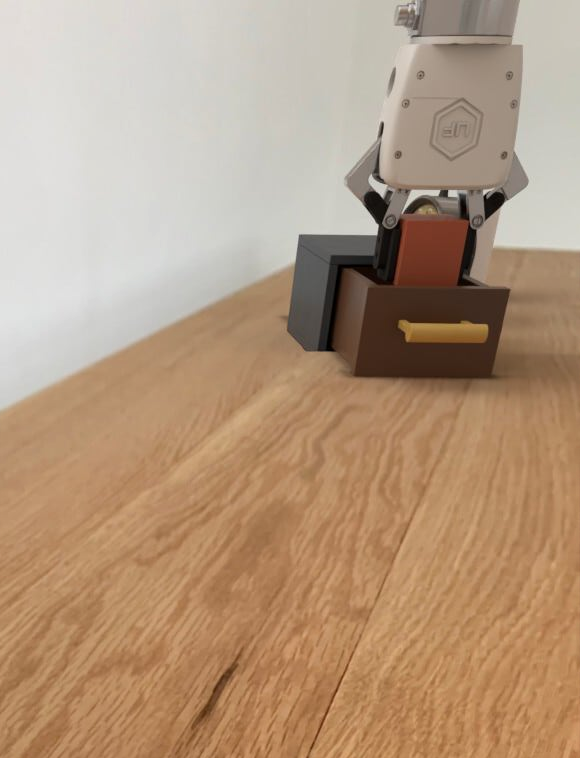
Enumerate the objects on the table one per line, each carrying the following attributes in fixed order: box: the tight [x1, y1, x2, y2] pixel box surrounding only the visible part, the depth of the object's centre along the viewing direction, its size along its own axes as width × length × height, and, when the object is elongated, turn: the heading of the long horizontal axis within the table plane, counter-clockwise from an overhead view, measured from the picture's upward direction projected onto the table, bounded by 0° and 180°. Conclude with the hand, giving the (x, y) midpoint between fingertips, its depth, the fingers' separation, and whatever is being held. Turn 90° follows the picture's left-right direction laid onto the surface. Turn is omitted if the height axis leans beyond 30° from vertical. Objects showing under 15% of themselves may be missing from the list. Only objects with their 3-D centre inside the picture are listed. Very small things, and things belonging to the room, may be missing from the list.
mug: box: [470, 206, 502, 284], centre depth 130 cm, size 12×8×10 cm
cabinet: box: [286, 233, 473, 353], centre depth 106 cm, size 14×13×9 cm
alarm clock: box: [402, 190, 477, 268], centre depth 117 cm, size 11×5×16 cm, turn 10°
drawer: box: [328, 265, 511, 379], centre depth 94 cm, size 17×11×7 cm, turn 179°
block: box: [389, 213, 469, 286], centre depth 93 cm, size 5×5×5 cm
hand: (418, 276), depth 94 cm, fingers closed on block, 5 cm apart
